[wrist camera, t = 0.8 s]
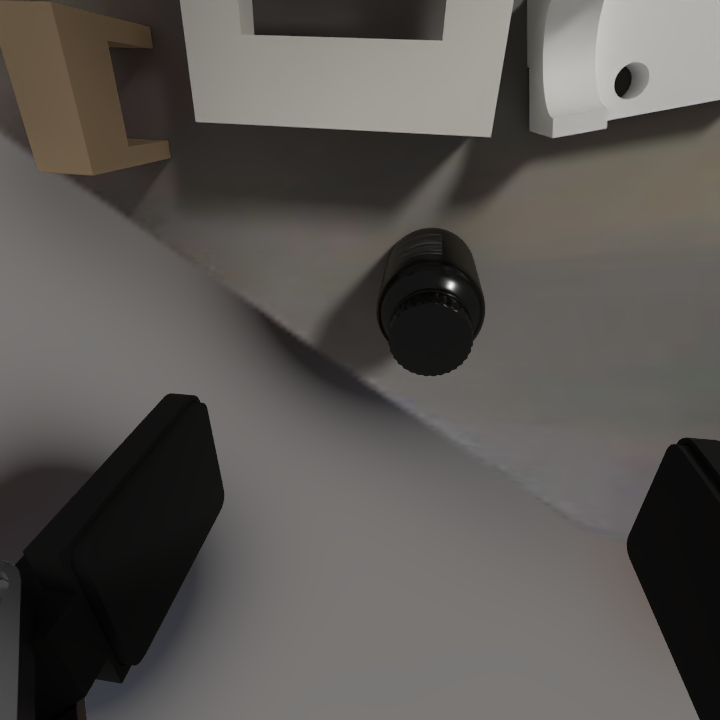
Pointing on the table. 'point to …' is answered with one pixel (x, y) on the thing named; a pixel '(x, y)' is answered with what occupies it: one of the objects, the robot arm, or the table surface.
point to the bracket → (618, 60)
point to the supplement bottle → (430, 302)
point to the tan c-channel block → (72, 86)
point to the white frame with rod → (347, 73)
